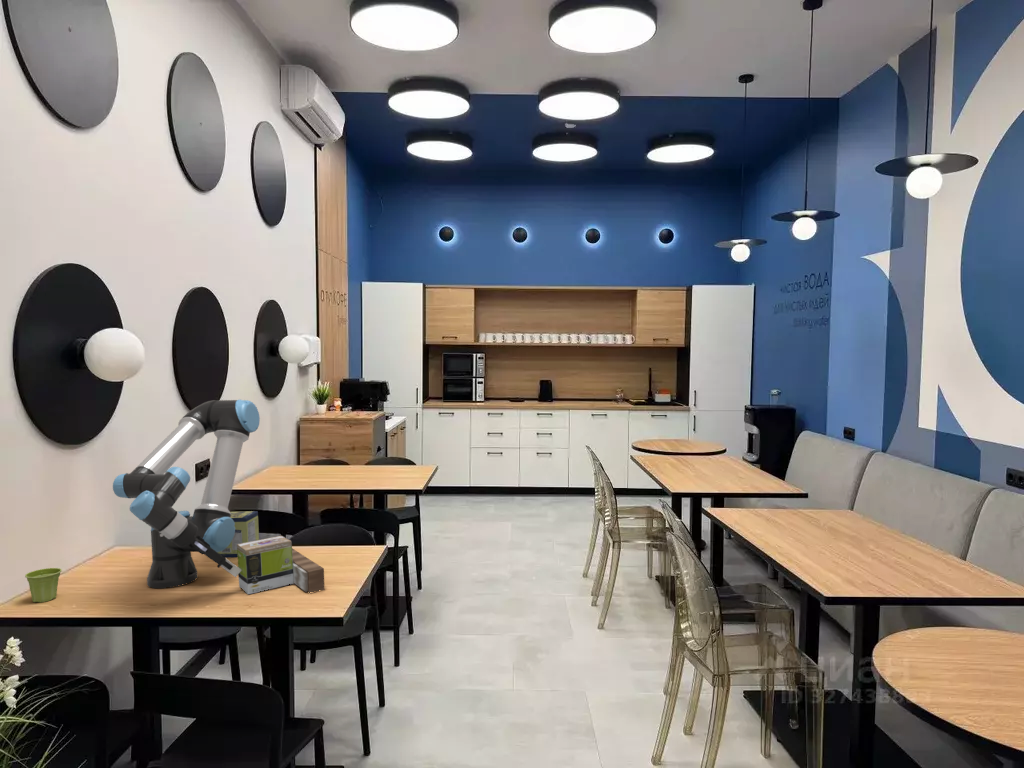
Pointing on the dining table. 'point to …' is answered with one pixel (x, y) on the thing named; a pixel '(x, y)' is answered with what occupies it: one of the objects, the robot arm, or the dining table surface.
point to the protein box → (242, 531)
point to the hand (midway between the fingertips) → (238, 573)
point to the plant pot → (43, 584)
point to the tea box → (265, 564)
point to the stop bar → (307, 573)
